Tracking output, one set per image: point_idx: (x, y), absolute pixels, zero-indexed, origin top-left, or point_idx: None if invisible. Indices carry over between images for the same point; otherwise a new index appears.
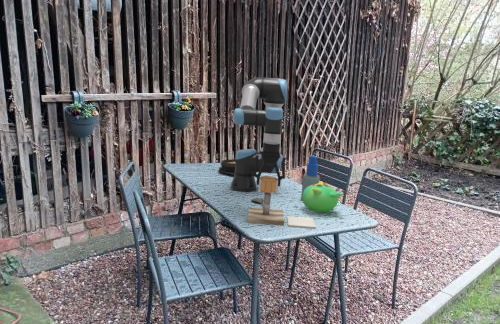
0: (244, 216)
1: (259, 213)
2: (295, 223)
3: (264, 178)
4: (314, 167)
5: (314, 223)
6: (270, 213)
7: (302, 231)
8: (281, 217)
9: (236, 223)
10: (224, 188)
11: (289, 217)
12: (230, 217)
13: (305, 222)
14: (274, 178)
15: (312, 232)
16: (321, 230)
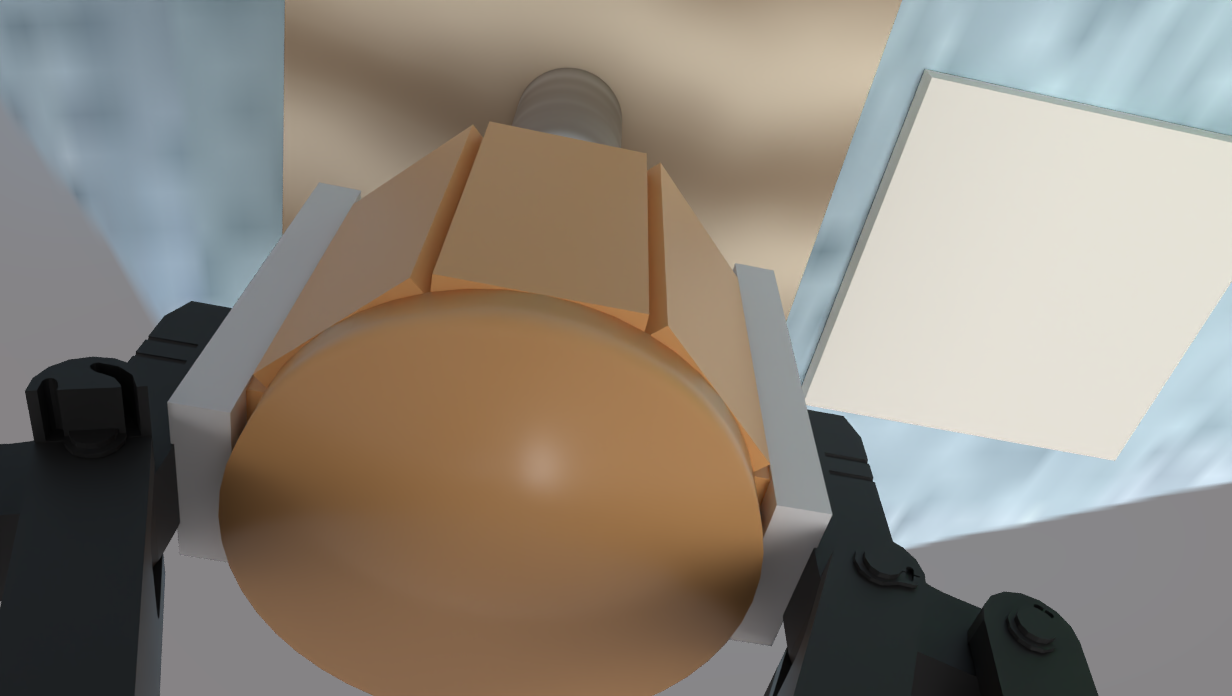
0: (244, 26)
1: (465, 99)
2: (916, 360)
3: (331, 636)
4: None
5: (1179, 356)
6: (651, 93)
7: (904, 503)
8: (774, 264)
9: (161, 301)
10: None
11: (942, 142)
12: (36, 80)
13: (1076, 325)
14: (670, 618)
15: (1002, 524)
16: (1143, 480)
